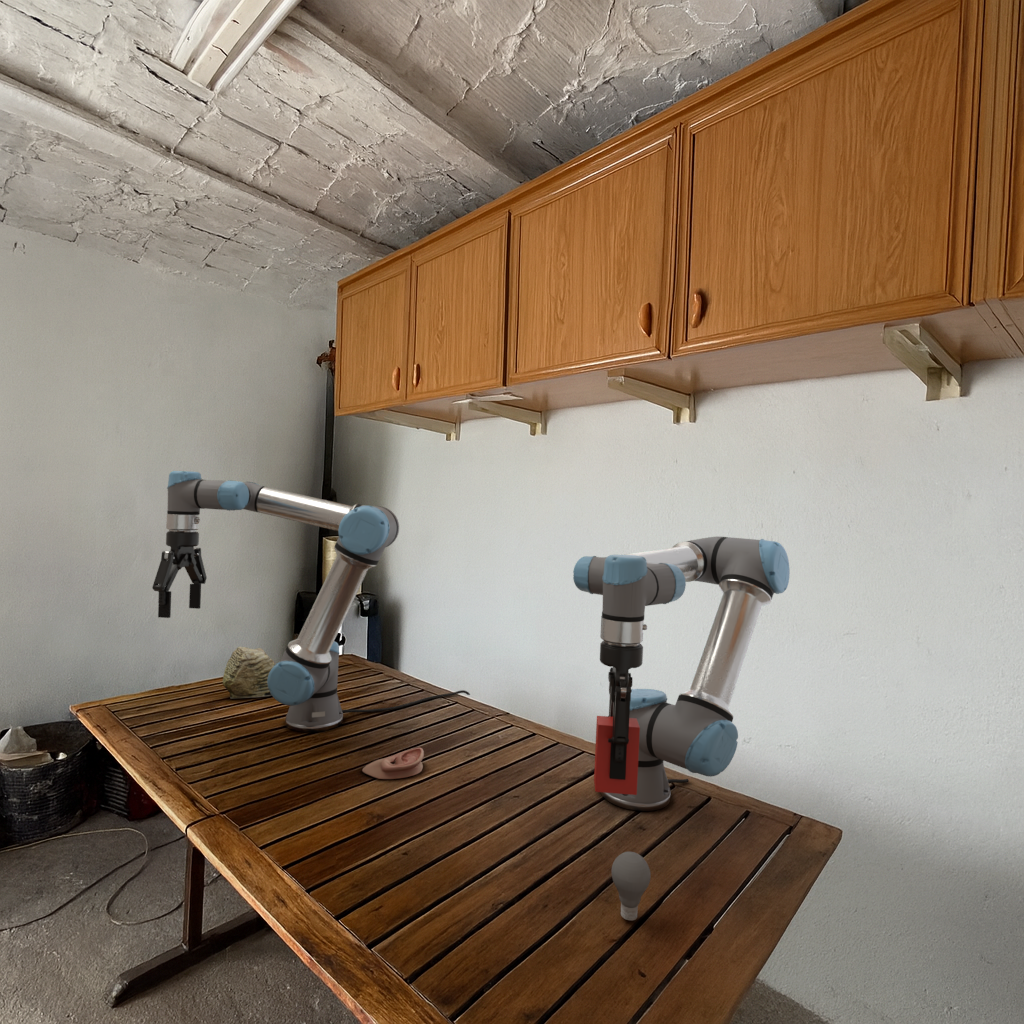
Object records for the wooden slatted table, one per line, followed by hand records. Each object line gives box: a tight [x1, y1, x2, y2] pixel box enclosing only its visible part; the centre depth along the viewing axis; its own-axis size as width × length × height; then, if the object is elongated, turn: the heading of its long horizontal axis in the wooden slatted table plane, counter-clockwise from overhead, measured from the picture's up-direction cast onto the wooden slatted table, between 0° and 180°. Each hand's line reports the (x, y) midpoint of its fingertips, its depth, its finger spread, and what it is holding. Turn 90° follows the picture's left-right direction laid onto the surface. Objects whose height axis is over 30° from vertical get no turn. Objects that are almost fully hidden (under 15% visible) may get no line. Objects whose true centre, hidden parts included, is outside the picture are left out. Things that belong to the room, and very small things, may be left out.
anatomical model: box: [361, 747, 425, 780], centre depth 148 cm, size 13×4×12 cm
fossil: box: [222, 646, 276, 699], centre depth 198 cm, size 9×18×15 cm, turn 132°
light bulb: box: [611, 851, 652, 921], centre depth 99 cm, size 6×6×10 cm
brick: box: [593, 715, 640, 795], centre depth 113 cm, size 7×5×12 cm, turn 85°
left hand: (180, 612), depth 164 cm, fingers open, 13 cm apart
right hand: (616, 771), depth 113 cm, fingers closed on brick, 5 cm apart
